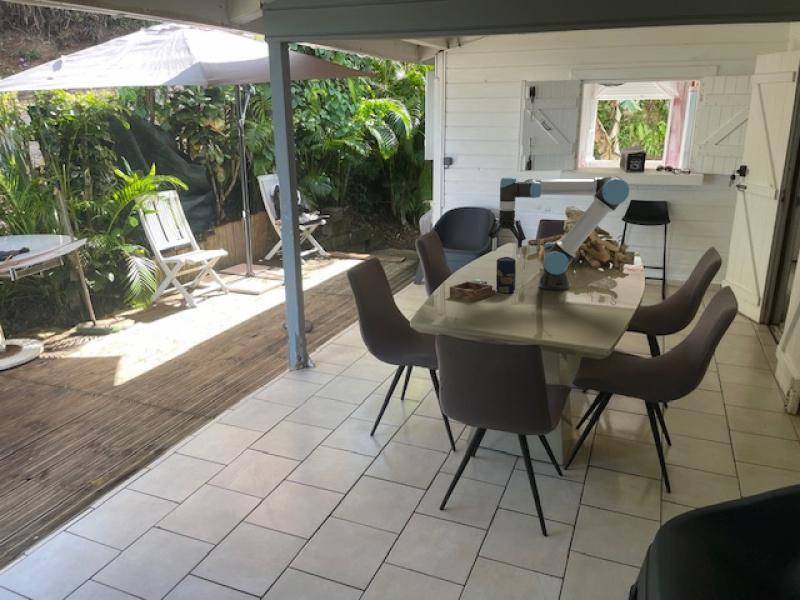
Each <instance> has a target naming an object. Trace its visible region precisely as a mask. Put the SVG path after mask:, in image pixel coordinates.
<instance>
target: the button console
mask: <svg viewBox="0 0 800 600" xmlns="http://www.w3.org/2000/svg"><path fill="white" fill-rule="evenodd" d="M474 280H475V279H474ZM474 280H471V281H469V282H474ZM480 284H486V285H488V281H485V280H481V283H480Z"/></svg>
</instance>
